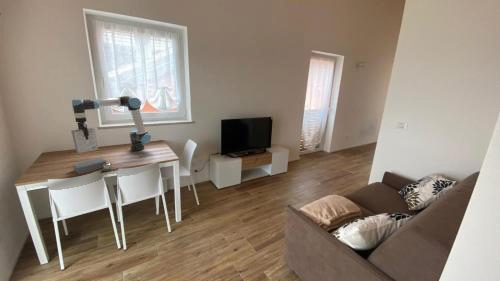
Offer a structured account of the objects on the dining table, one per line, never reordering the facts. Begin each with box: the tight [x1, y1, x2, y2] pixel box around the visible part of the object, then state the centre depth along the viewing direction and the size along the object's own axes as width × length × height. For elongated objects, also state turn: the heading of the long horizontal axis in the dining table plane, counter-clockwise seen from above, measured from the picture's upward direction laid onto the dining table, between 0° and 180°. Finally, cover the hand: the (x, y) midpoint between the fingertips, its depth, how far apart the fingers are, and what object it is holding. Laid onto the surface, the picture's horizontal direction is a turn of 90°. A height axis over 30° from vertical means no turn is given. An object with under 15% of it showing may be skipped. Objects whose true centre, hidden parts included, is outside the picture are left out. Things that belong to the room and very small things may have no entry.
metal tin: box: [102, 162, 113, 172], centre depth 195 cm, size 7×7×5 cm
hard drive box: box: [71, 127, 99, 154], centre depth 189 cm, size 16×8×20 cm, turn 138°
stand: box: [71, 157, 107, 175], centre depth 196 cm, size 22×14×6 cm, turn 146°
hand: (85, 142), depth 189 cm, fingers closed on hard drive box, 8 cm apart
